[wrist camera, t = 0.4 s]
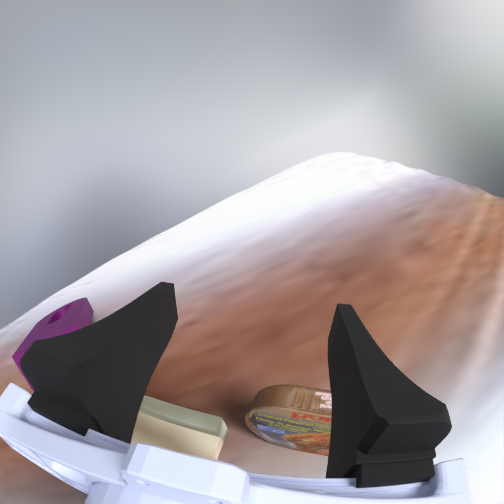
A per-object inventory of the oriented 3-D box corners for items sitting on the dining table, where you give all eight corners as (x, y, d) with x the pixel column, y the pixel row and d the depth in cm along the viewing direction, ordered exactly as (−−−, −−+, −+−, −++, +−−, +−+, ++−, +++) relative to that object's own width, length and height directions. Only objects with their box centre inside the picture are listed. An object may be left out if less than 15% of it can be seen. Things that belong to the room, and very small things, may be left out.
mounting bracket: (67, 360, 42) (52, 417, 26) (42, 316, 40) (11, 356, 24) (113, 338, 46) (116, 389, 29) (89, 293, 44) (77, 324, 28)
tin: (250, 439, 26) (235, 404, 21) (260, 412, 28) (249, 371, 23) (403, 464, 21) (436, 434, 16) (407, 435, 23) (438, 397, 18)
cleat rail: (207, 485, 22) (197, 479, 20) (92, 438, 26) (77, 426, 24) (228, 429, 27) (221, 417, 25) (116, 394, 31) (104, 379, 29)
